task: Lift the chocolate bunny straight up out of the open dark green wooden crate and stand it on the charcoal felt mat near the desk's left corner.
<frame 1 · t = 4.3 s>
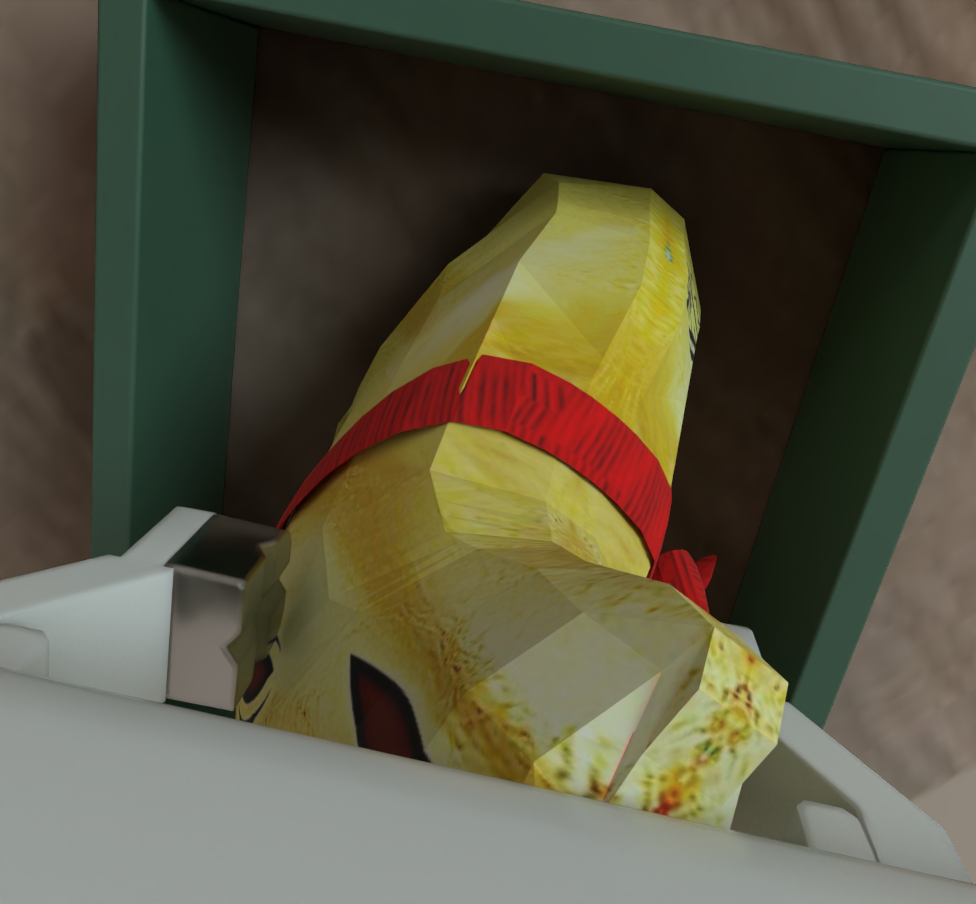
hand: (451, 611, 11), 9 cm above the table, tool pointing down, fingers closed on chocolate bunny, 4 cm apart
crate: (507, 398, 20), on the table
chocolate bunny: (507, 398, 20), resting in crate, touching gripper
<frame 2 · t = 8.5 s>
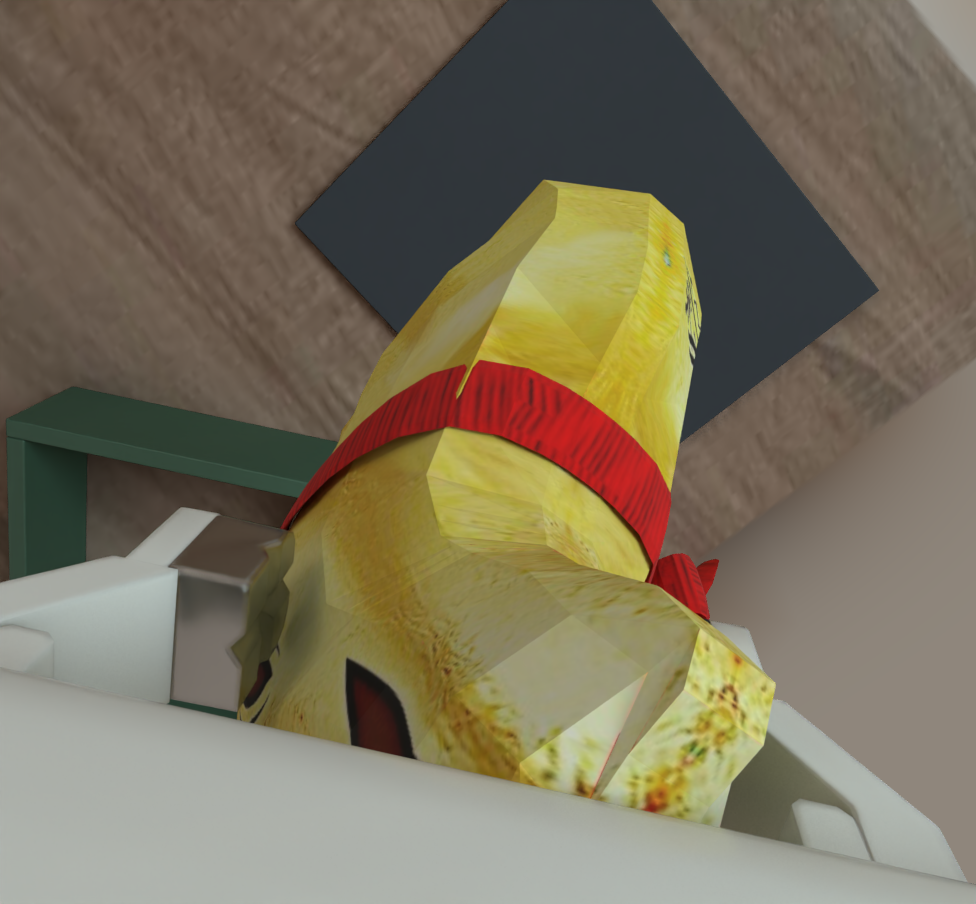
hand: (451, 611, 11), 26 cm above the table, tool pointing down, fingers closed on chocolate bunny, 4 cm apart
mat: (580, 255, 36), on the table
crate: (213, 560, 42), on the table
chocolate bunny: (511, 404, 20), point 17 cm above the table, touching gripper
when the fingers open (10 cm above the table, at t = 12.7 s): chocolate bunny stays where it is, resting on mat.
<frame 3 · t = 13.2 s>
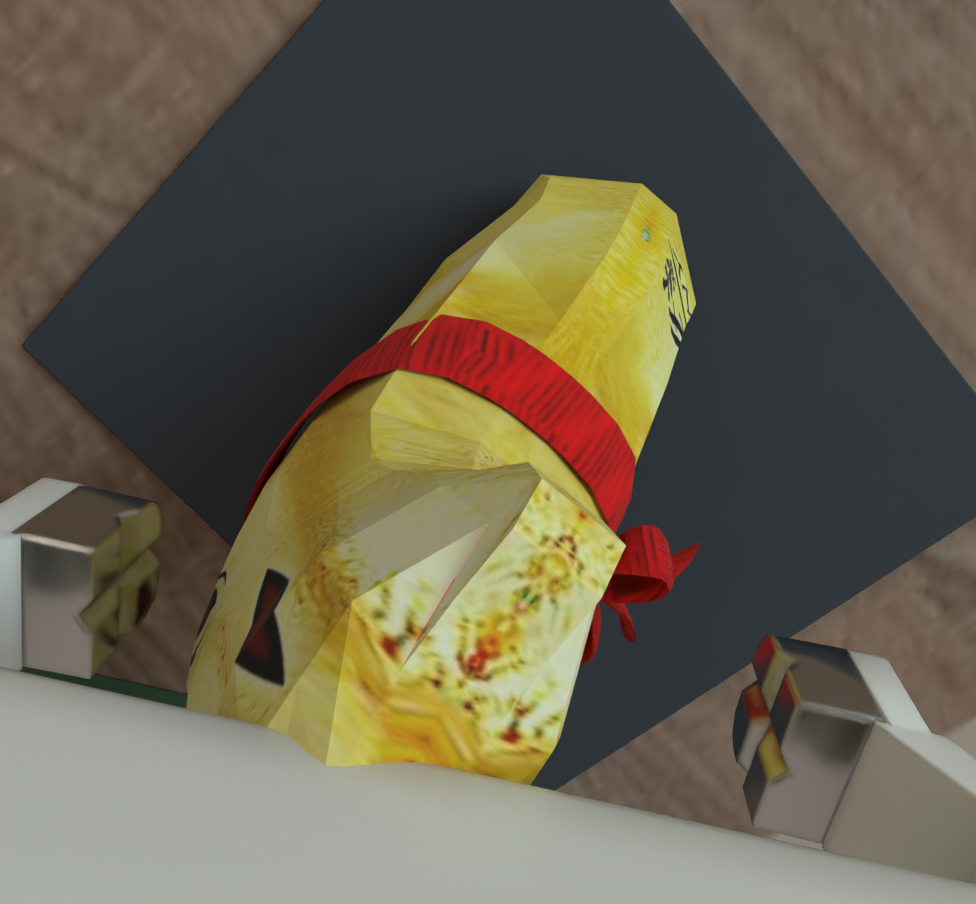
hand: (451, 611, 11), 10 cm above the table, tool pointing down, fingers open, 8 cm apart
mat: (512, 403, 20), on the table
chocolate bunny: (517, 403, 20), resting on mat
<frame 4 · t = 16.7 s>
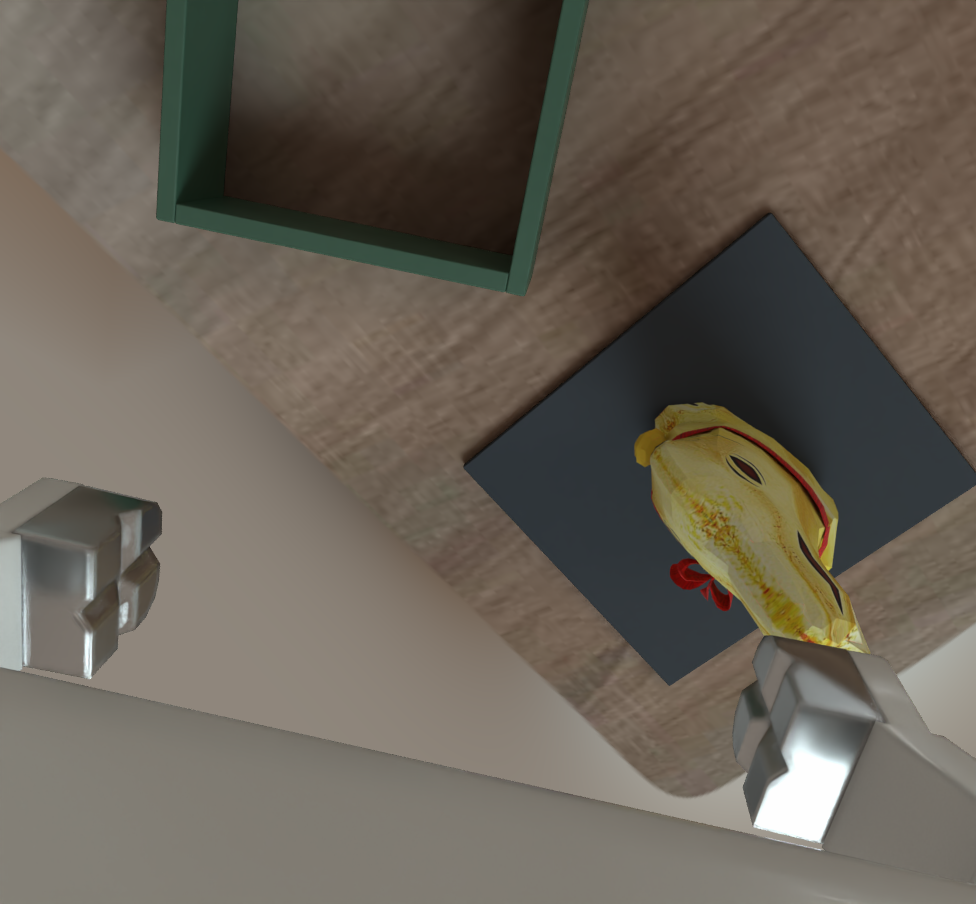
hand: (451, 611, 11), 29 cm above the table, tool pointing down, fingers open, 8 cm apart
mat: (713, 471, 41), on the table
crate: (391, 71, 36), on the table
chocolate bunny: (715, 475, 41), resting on mat
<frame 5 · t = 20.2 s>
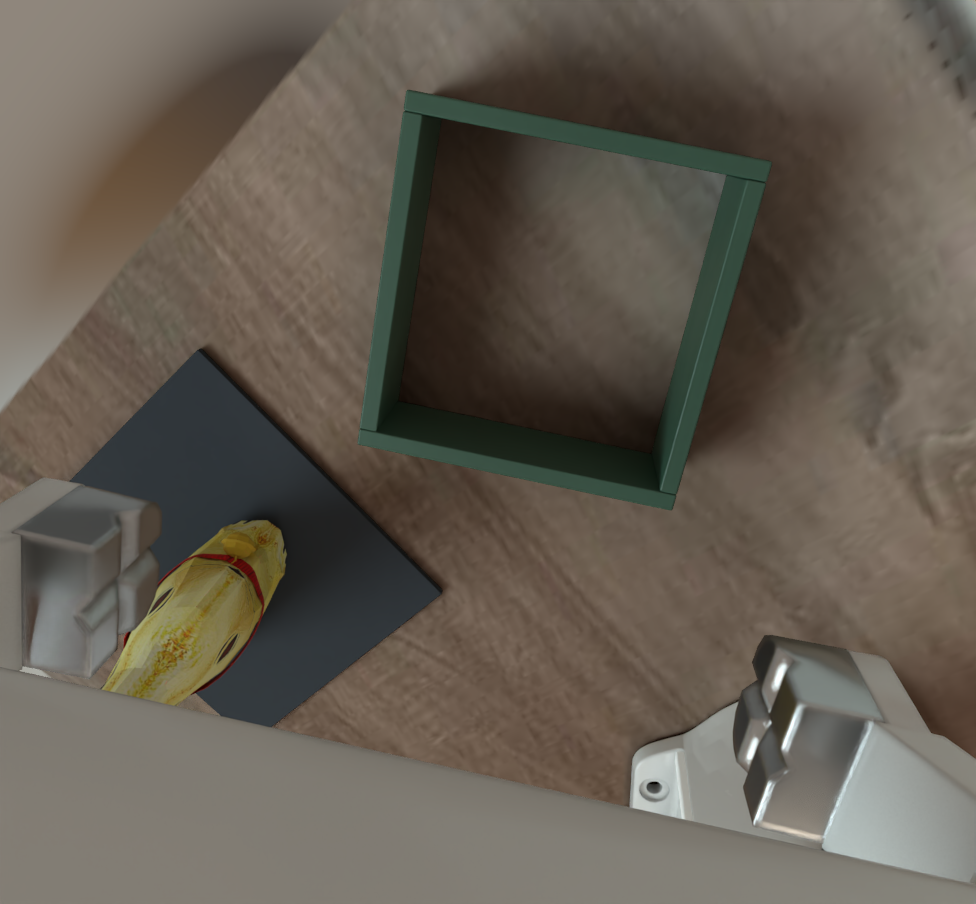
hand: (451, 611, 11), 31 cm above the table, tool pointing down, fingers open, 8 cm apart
mat: (229, 560, 48), on the table
crate: (552, 294, 41), on the table
chocolate bunny: (225, 562, 48), resting on mat
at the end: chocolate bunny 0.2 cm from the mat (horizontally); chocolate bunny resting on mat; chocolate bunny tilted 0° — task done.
